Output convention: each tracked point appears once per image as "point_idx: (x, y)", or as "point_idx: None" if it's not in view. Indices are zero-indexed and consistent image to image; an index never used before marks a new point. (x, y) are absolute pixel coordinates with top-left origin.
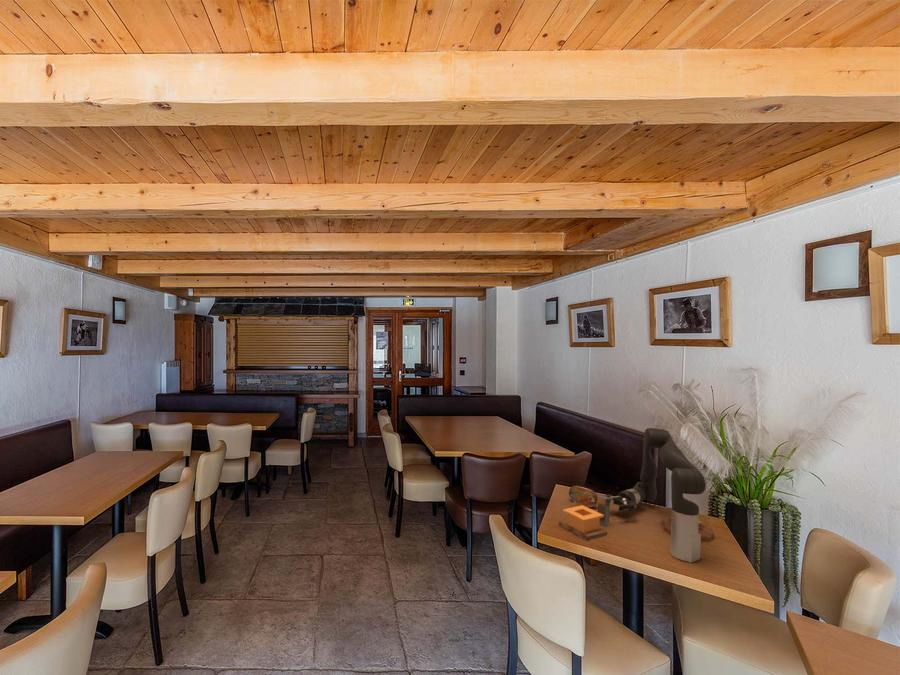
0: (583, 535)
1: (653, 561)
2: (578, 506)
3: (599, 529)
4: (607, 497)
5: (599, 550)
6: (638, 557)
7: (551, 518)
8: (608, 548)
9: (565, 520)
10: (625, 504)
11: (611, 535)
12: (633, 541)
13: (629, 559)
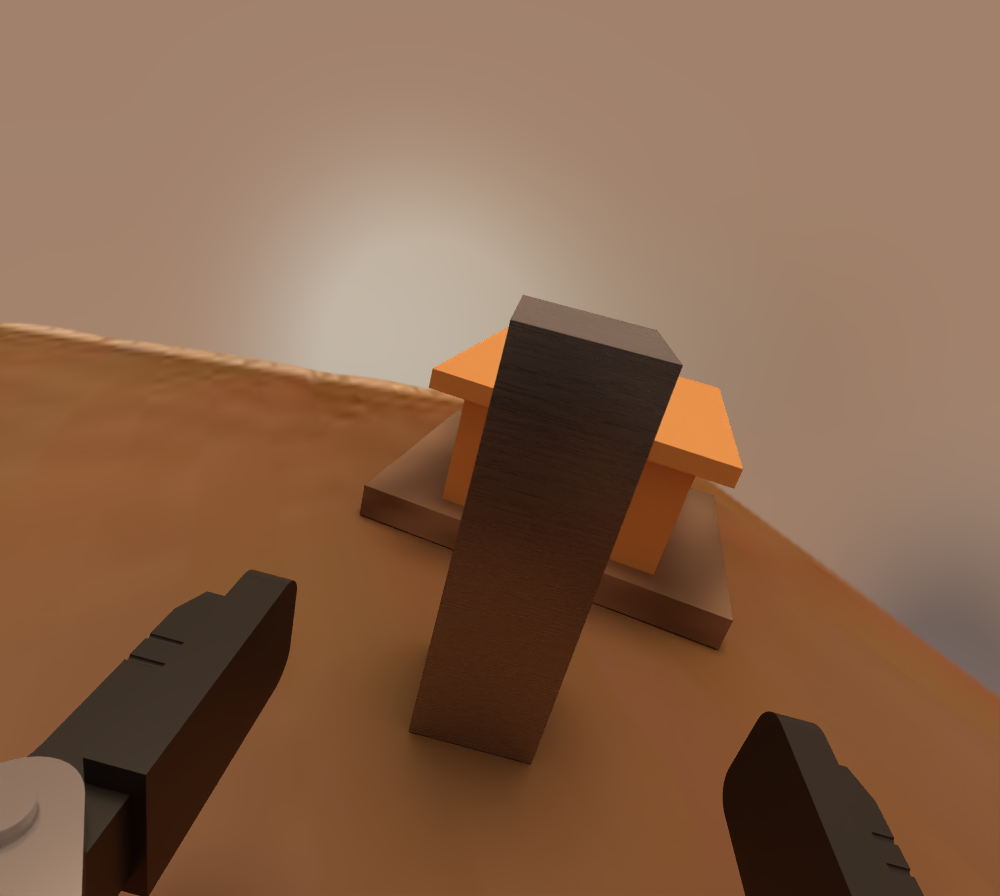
0: None
1: (5, 351)
2: (726, 441)
3: (433, 486)
4: (547, 321)
5: (353, 384)
6: (112, 366)
7: (832, 578)
8: (310, 399)
9: (711, 520)
10: (42, 757)
11: (319, 514)
12: (92, 489)
13: (180, 354)
